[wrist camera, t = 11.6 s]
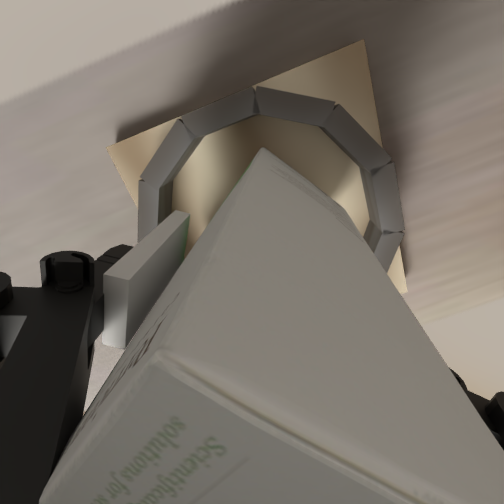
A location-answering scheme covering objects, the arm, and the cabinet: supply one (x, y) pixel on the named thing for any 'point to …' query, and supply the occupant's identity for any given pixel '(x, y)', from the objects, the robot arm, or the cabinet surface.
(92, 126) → the cabinet surface
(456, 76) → the cabinet surface
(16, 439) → the robot arm
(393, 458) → the skincare box
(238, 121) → the collar
